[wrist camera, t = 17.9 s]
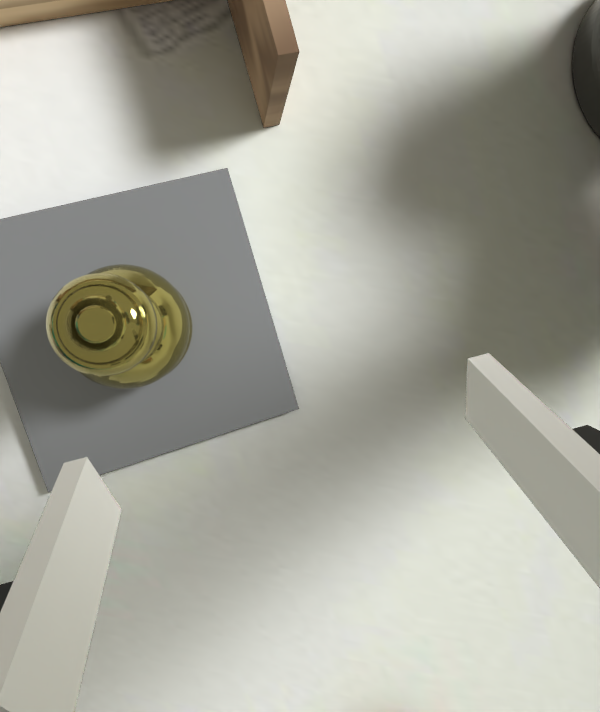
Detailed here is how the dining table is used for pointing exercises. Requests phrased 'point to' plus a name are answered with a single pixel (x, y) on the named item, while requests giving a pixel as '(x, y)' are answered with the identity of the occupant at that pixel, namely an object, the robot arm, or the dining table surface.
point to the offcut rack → (253, 27)
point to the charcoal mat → (195, 284)
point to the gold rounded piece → (120, 326)
